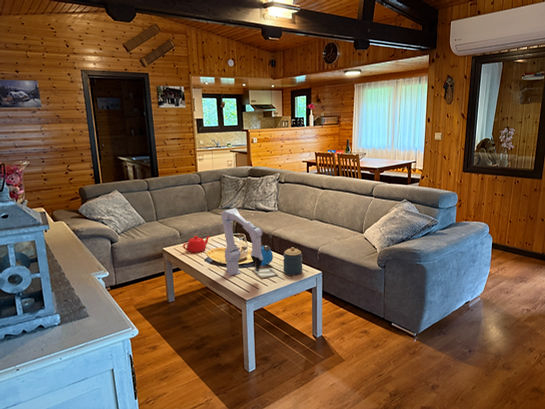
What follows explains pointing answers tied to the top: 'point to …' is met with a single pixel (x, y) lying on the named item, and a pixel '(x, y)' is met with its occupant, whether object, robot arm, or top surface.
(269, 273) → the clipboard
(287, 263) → the canister
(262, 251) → the alarm clock
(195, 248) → the teapot
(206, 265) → the top surface
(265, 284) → the top surface
